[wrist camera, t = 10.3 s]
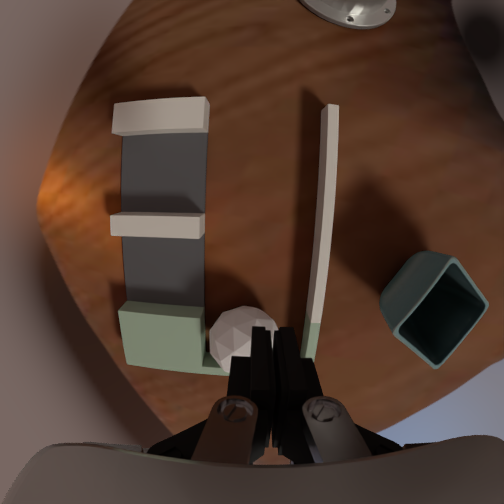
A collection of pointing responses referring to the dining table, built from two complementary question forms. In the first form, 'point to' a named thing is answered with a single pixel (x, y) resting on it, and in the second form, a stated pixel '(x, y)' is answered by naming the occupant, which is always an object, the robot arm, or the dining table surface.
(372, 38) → the dining table surface
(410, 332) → the flower pot
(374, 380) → the dining table surface
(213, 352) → the ornament
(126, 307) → the u-shaped rail frame
